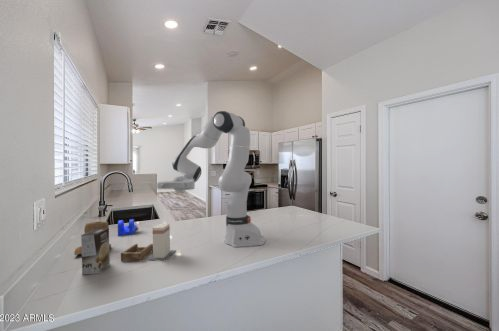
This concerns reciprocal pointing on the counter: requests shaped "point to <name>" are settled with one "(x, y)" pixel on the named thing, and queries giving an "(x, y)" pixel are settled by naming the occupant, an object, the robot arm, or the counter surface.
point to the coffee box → (95, 251)
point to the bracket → (126, 228)
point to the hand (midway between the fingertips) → (170, 186)
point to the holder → (132, 256)
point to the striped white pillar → (161, 240)
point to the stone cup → (90, 227)
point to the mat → (164, 257)
